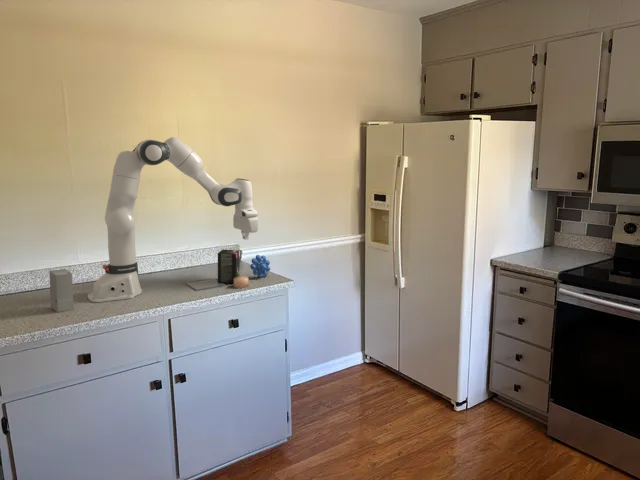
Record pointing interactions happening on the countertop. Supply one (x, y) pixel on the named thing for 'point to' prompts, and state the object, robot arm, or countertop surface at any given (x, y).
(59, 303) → the skincare box
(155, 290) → the countertop surface
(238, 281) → the tan round lump
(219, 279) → the tampon box
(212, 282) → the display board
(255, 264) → the grapes
